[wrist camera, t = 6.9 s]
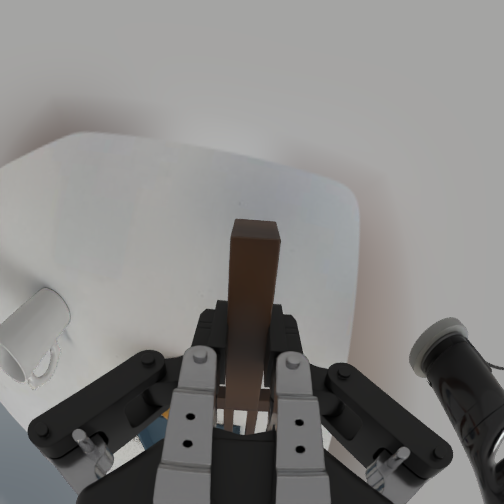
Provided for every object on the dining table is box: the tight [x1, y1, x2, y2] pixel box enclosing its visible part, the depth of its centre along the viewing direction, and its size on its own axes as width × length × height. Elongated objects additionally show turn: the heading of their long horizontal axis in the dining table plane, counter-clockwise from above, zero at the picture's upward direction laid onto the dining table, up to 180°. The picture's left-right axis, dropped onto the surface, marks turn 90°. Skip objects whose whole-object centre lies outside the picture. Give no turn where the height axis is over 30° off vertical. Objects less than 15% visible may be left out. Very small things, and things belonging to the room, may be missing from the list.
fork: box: [217, 219, 281, 435], centre depth 14 cm, size 16×5×2 cm, turn 176°
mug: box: [0, 288, 70, 390], centre depth 25 cm, size 10×7×12 cm, turn 7°
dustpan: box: [138, 416, 240, 450], centre depth 40 cm, size 24×17×3 cm
